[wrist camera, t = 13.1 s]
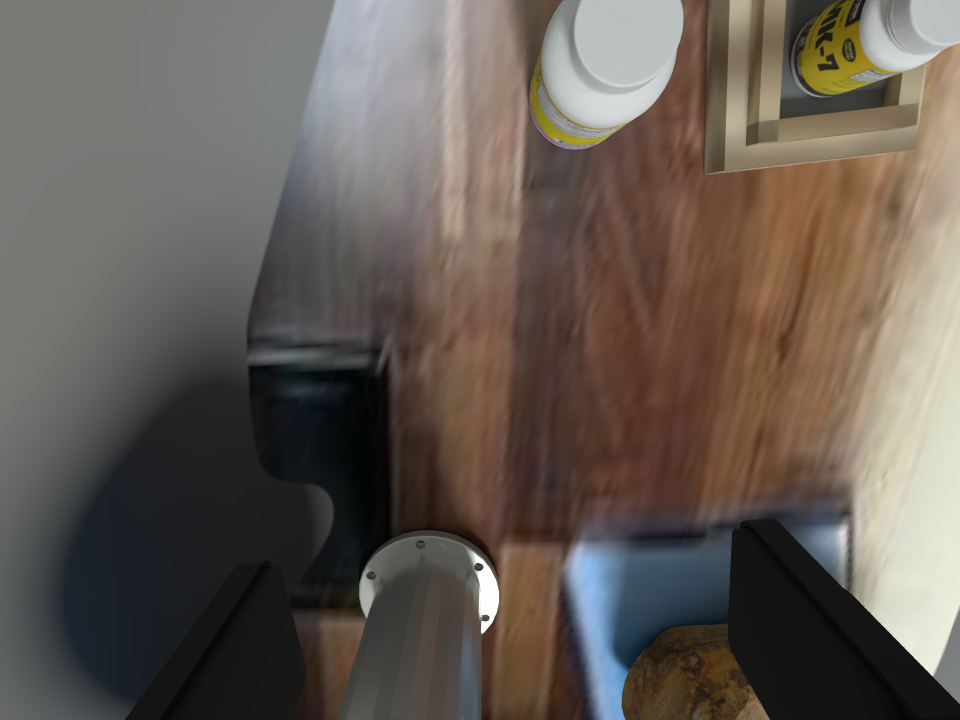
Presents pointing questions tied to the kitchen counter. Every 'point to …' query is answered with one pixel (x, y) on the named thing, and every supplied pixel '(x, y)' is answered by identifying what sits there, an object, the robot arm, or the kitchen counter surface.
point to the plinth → (792, 96)
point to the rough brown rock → (689, 679)
